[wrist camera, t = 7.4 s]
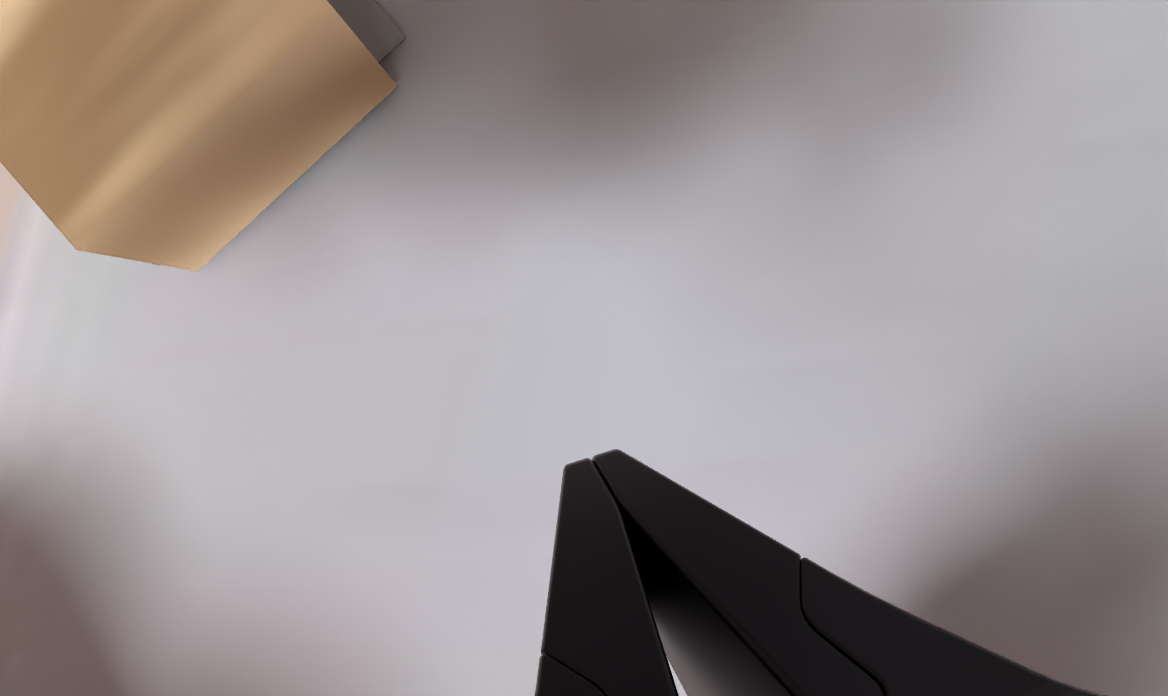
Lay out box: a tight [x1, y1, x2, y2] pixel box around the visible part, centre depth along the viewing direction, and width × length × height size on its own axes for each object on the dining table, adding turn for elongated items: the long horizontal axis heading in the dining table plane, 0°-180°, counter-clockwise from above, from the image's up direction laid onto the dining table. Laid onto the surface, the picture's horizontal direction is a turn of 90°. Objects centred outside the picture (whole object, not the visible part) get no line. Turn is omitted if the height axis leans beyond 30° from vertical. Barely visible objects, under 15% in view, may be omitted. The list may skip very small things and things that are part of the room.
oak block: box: [0, 0, 397, 271], centre depth 16 cm, size 4×8×10 cm
